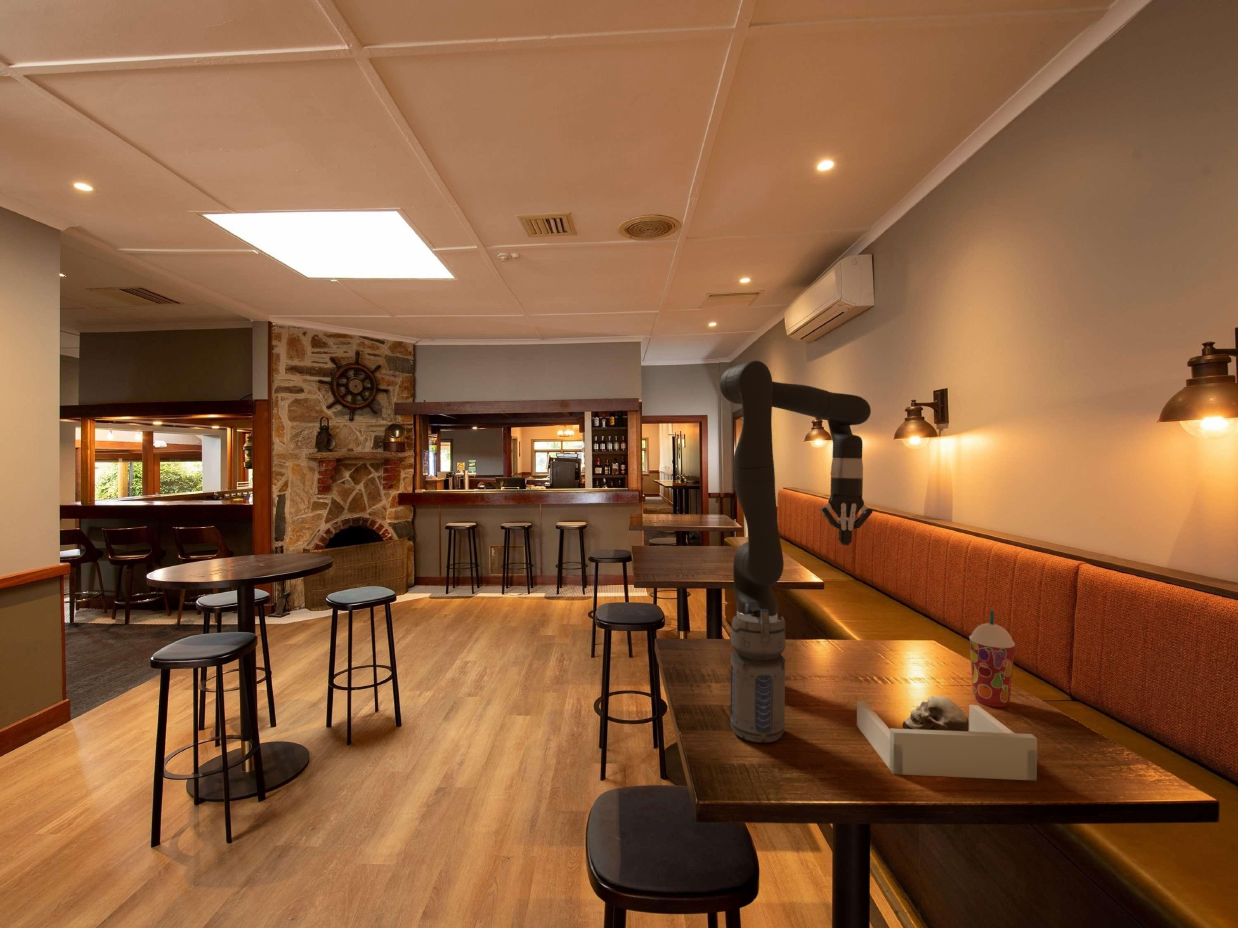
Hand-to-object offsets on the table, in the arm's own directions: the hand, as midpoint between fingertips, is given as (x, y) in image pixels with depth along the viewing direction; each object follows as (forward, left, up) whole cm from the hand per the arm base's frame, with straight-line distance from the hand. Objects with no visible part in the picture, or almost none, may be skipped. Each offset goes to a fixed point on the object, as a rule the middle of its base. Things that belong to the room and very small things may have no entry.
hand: (845, 544), depth 143 cm
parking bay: (+4, -39, -32) cm, 50 cm away
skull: (+7, -34, -32) cm, 47 cm away
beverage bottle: (-28, -35, -32) cm, 55 cm away
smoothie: (+26, -17, -32) cm, 45 cm away
